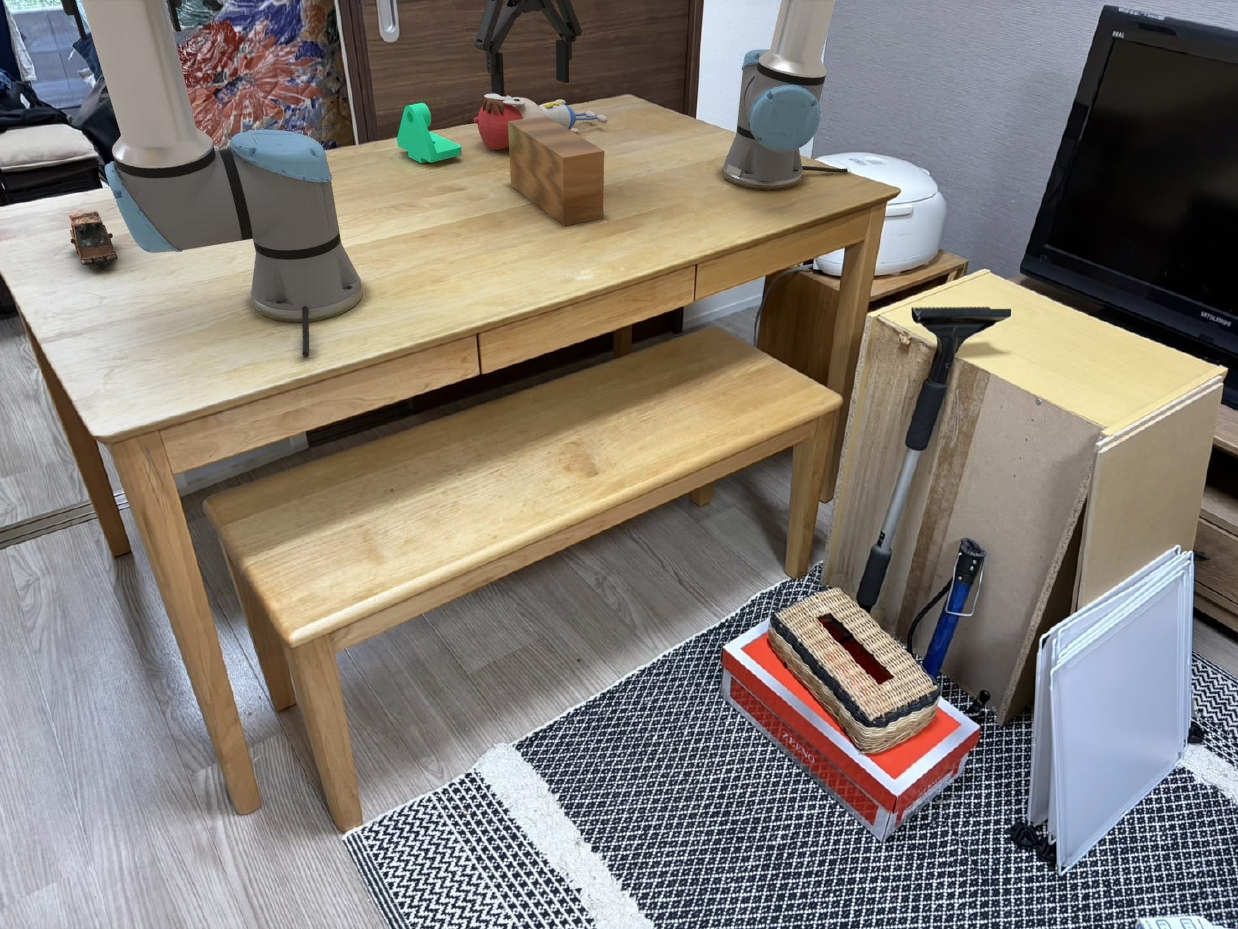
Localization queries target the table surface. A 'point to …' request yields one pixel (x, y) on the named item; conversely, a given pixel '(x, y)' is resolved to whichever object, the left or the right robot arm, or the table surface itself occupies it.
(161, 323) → the table surface
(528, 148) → the box
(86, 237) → the toy car
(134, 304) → the table surface
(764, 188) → the right robot arm
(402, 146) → the camera mount
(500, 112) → the toy
